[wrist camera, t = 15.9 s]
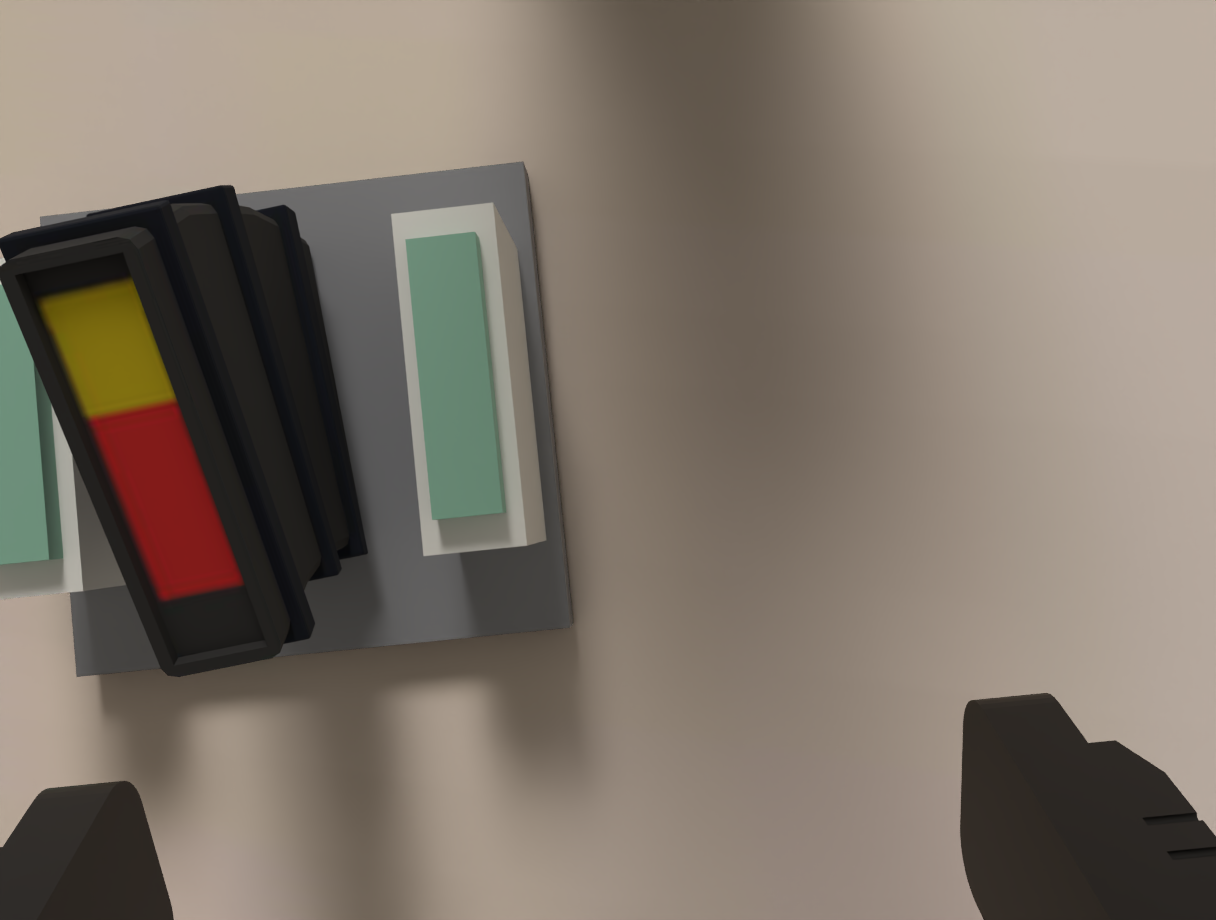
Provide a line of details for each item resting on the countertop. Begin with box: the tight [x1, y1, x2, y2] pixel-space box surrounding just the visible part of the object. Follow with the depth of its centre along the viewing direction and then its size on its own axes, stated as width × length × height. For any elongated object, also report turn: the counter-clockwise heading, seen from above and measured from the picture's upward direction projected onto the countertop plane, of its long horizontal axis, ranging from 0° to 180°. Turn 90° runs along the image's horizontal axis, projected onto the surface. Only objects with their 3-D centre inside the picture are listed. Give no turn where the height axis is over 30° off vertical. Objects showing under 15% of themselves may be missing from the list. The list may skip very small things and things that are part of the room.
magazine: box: [0, 185, 368, 677], centre depth 34 cm, size 4×13×15 cm, turn 11°
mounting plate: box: [0, 162, 573, 677], centre depth 37 cm, size 16×17×8 cm
